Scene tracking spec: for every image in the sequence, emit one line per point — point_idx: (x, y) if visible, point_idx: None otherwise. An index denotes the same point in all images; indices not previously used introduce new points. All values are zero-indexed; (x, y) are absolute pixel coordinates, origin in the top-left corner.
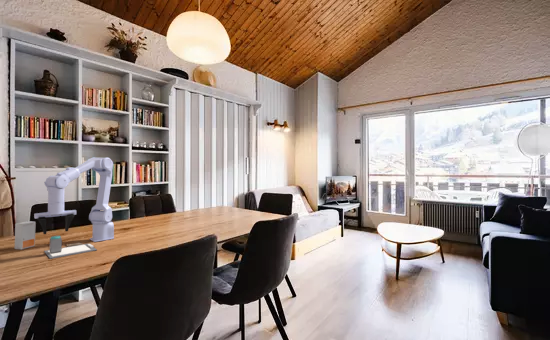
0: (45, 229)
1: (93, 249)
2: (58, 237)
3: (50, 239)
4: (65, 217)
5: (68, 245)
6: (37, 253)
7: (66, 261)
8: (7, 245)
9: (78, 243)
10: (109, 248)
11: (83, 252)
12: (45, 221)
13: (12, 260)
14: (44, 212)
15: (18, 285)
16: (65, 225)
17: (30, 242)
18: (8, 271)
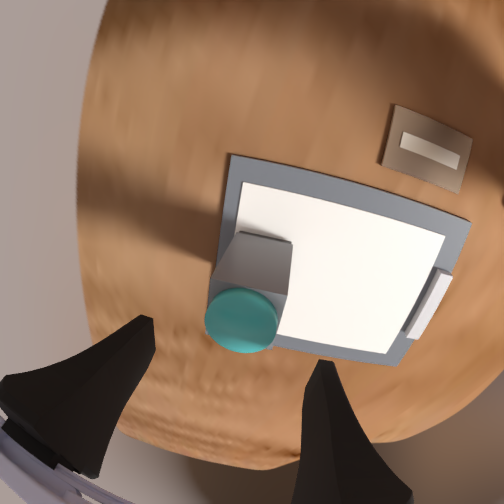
0: (130, 386)
1: (392, 356)
2: (249, 349)
3: (208, 304)
4: (327, 496)
5: (395, 145)
6: (194, 164)
7: (242, 391)
8: None
9: (451, 162)
10: (433, 371)
11: (344, 357)
12: (96, 457)
13: (95, 207)
14: (18, 494)
15: (127, 415)
16: (322, 406)
17: None
18: (96, 332)
